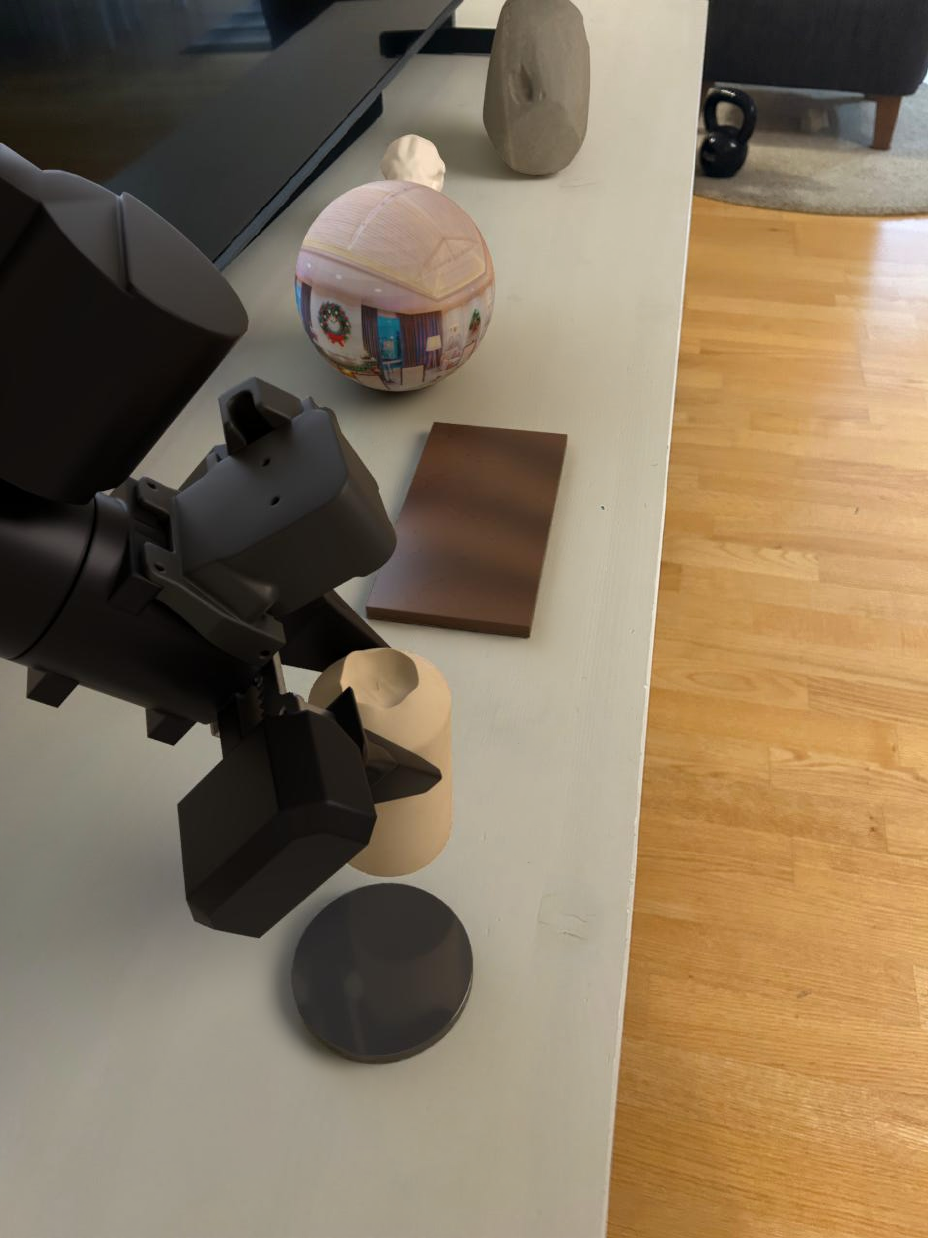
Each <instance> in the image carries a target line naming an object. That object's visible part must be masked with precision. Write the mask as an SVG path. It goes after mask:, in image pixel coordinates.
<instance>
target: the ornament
mask: <svg viewBox="0 0 928 1238" xmlns="http://www.w3.org/2000/svg"><path fill="white" fill-rule="evenodd" d="M294 289H295V290H294V291H295V293H294V294H295V301H296V306H297V311H298V315H299V317H300V321H301V323H302V326H303V328H304V330H305V333H306V335H307V336H308V338H309V340H310V341H311V344H312V346H314V348H315V349H316V350H317V352H318V353H319V354H320V356H321V357H322V358H323V359H324V361H326V362H327V363H328V364H329V365H330V366H331V367H332V368H333V369H335V370H336V371H337V372H339V373H340V374H341V375H343V376H345V377H346V378H347V379H349V380H351V381H354V382H355V383H358V384H360V385H362V386H364V387H368V388H372V389H376V390H381V391H387V392H406V391H407V392H408V391H409V392H410V391H414V390H419V389H423V388H426V387H429V386H433V385H435V384H437V383H439V382H441V381H443V380H444V379H446V378H448V377H449V376H451V375H453V374H455V372H457V371H458V370H459V369H460V368H462V367H463V365H465V363H467V362H468V360H469V359H470V358H471V357H472V356H473V355H474V353H475V352H476V351H477V349H478V348H479V346H480V345H481V342H482V341H483V339H484V337H485V335H486V333H487V330H488V328H489V325H490V323H491V321H492V316H493V312H494V309H495V300H496V299H495V298H496V277H495V270H494V264H493V259H492V256H491V253H490V250H489V247H488V245H487V242H486V240H485V238H484V236H483V235H482V233H481V231H480V229H479V228H478V225H476V223H475V222H474V221H473V219H472V217H470V215H469V214H468V213H467V212H466V211H465V210H464V209H463V208H462V207H461V206H460V205H459V204H457V202H455V201H454V200H453V199H451V198H450V197H448V196H447V195H446V194H444V193H443V192H441V191H440V192H438V191H436V190H434V189H432V188H430V187H428V186H425V185H422V184H418V183H414V182H410V181H403V180H386V179H384V180H376V181H371V182H368V183H365V184H362V185H359V186H357V187H354V188H351V189H349V190H347V191H346V192H344V193H343V194H341V195H339V196H338V197H337V198H335V199H334V200H332V201H331V202H330V203H329V204H328V205H327V206H325V208H324V209H322V210H321V212H320V213H319V214H318V216H317V217H316V219H314V221H313V222H312V224H311V225H310V227H309V229H308V230H307V232H306V234H305V236H304V239H303V241H302V243H301V246H300V249H299V251H298V256H297V261H296V267H295V273H294Z"/></svg>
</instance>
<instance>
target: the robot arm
mask: <svg viewBox="0 0 928 1238" xmlns="http://www.w3.org/2000/svg"><path fill="white" fill-rule="evenodd" d="M249 321H250V320H249V316H248V313H247V310H246V308H245V306H244V304H243V302H242V300H241V298H240V297H239V295H238V294H237V292H236V291H235V289H234V288H233V287H232V285H231V284H230V282H229V281H228V279H227V278H226V277H225V276H224V275H223V274H222V272H221V271H220V270H219V269H218V268H217V267H216V266H215V264H214V262H212V261H211V260H210V259H209V258H208V257H207V256H206V255H205V254H204V253H203V252H202V251H201V250H200V249H199V248H198V247H197V246H196V245H195V244H194V243H193V242H192V241H191V240H189V239H188V238H187V237H186V236H185V235H184V234H183V233H182V232H180V231H179V230H178V228H176V227H175V226H173V224H171V222H168V221H167V220H166V219H165V218H164V217H162V216H161V215H159V214H158V213H157V212H156V211H154V210H153V209H152V208H150V207H149V206H148V205H146V204H145V203H144V202H142V201H141V200H139V199H138V198H137V197H135V196H134V195H132V194H130V193H128V192H127V191H123V192H122V193H121V195H117V194H116V193H115V192H112V191H110V190H109V189H107V188H105V187H104V186H103V185H100V184H98V183H96V182H94V181H92V180H89V179H87V178H85V177H84V176H80V175H78V174H74V173H71V172H68V171H65V170H61V169H44V170H42V169H40V168H39V167H38V166H36V165H35V164H33V163H32V162H30V161H29V160H27V159H26V158H25V157H23V156H21V155H20V154H18V152H16V151H14V150H12V148H10V147H9V146H7V145H6V144H4V143H2V142H0V659H4V660H5V661H9V662H12V663H14V664H17V665H21V666H23V667H26V669H27V670H26V672H27V673H26V695H25V698H26V699H27V700H31V701H34V702H38V703H40V704H43V705H47V706H49V707H52V708H55V709H59V707H60V706H62V704H63V703H64V702H65V701H66V699H67V698H68V697H69V696H70V695H71V694H72V692H74V690H75V689H77V687H78V686H81V687H84V688H87V689H90V690H92V691H95V692H98V693H101V694H104V695H107V696H110V697H113V698H116V699H118V700H121V701H124V702H127V703H130V704H132V705H135V706H138V707H141V708H144V709H145V726H146V738H147V739H150V740H153V741H157V742H159V743H163V744H166V745H169V746H172V747H175V746H176V744H178V743H179V742H180V741H181V740H182V739H183V738H184V736H186V734H187V733H188V732H190V730H191V729H192V728H193V727H194V726H195V725H196V724H198V723H199V724H202V725H204V726H207V725H209V727H210V734H211V736H212V737H215V738H218V739H219V741H220V749H221V755H222V756H221V757H222V759H221V760H220V761H219V762H218V763H217V764H216V765H215V766H214V767H213V768H212V769H211V770H210V771H209V772H207V774H206V775H204V777H203V778H202V779H201V780H200V781H198V783H197V784H196V785H194V786H193V788H192V789H190V791H188V793H187V794H186V795H185V796H184V797H182V798H181V800H179V801H178V803H176V805H177V806H176V808H177V818H178V829H179V831H178V832H179V841H180V851H181V852H180V853H181V864H182V875H183V885H184V897H185V901H186V904H187V906H188V909H189V911H190V914H191V916H192V919H193V921H194V923H197V924H199V925H202V926H204V927H207V928H209V929H210V930H211V929H212V930H213V931H218V932H222V933H223V932H224V933H228V934H233V935H238V936H242V937H243V936H245V937H248V938H253V939H261V938H262V937H263V936H264V935H266V933H268V932H269V931H270V930H271V929H273V928H274V927H275V926H276V925H277V924H279V922H280V921H282V920H283V919H284V918H285V917H286V916H288V914H290V913H291V912H292V911H294V910H295V909H296V908H297V907H298V906H299V905H301V903H302V902H304V901H305V900H306V899H307V898H308V897H310V895H312V894H313V893H314V892H315V891H316V890H318V889H319V888H320V887H321V886H323V885H324V884H325V883H326V882H327V881H328V880H329V879H330V878H332V877H333V876H334V875H335V874H337V872H339V871H340V870H342V868H343V867H344V866H346V865H347V864H348V862H349V861H350V860H351V859H352V858H354V857H355V856H356V855H357V854H358V853H359V852H361V851H362V850H363V849H364V848H365V847H366V846H368V845H369V842H370V839H371V836H372V832H373V829H374V826H375V823H376V820H377V814H376V810H375V806H374V804H379V803H383V802H388V801H392V800H397V799H401V798H406V797H410V796H415V795H419V794H424V793H426V792H428V791H429V790H430V789H432V788H433V787H434V786H435V785H436V784H437V783H439V782H440V781H441V780H442V774H441V771H440V769H439V768H437V767H436V766H434V765H433V764H431V763H430V762H428V761H427V760H425V759H424V758H422V757H420V756H419V755H417V754H415V753H413V752H411V751H409V750H407V749H405V748H403V747H401V746H399V745H397V744H395V743H393V742H391V741H389V740H387V739H385V738H383V737H381V736H379V735H377V734H375V733H373V732H371V731H369V730H367V729H365V728H364V727H363V725H362V721H361V717H360V713H359V710H358V706H357V702H356V698H355V695H354V691H353V689H352V688H351V687H350V686H349V687H347V688H346V689H345V690H344V691H343V692H342V693H341V694H340V695H339V696H338V697H337V698H336V699H335V700H334V701H333V702H332V703H331V704H330V705H329V706H328V707H327V708H326V709H322V708H320V707H317V706H315V705H312V704H310V703H308V701H306V700H305V698H304V697H303V696H301V695H300V694H298V693H295V692H291V691H287V686H286V681H285V676H284V672H283V666H287V667H291V668H297V669H302V670H307V671H311V672H312V671H313V672H318V673H322V672H323V671H324V670H326V669H327V668H328V667H329V666H330V665H332V664H333V663H335V662H336V661H338V660H340V659H342V658H343V657H345V656H347V655H349V654H350V653H351V652H354V651H362V650H367V649H374V648H392V647H391V645H390V644H388V642H386V641H385V640H384V639H383V638H382V636H380V635H379V634H378V633H377V632H376V631H375V630H374V629H373V628H372V626H370V625H369V624H368V623H367V622H366V620H364V619H363V618H362V617H361V615H360V614H358V613H357V611H356V610H354V609H353V608H352V607H351V606H350V605H349V603H347V602H346V600H344V599H343V598H342V597H341V596H340V595H339V593H338V592H337V591H336V588H338V587H340V586H342V585H343V584H345V583H347V582H349V581H351V580H353V579H354V578H365V577H368V576H370V575H371V574H373V573H375V572H377V571H379V569H380V568H381V567H382V566H383V565H384V564H386V563H387V562H388V560H389V559H390V558H391V556H392V555H393V553H394V551H395V549H396V545H397V537H396V533H395V530H394V528H395V527H394V526H393V524H392V522H391V521H390V518H389V515H388V512H387V510H386V507H385V504H384V501H383V498H382V496H381V494H380V487H379V484H378V482H377V480H376V478H375V477H374V475H373V474H372V472H371V471H370V470H369V468H368V467H367V466H366V464H365V463H364V461H363V459H361V458H360V455H359V454H358V453H357V451H356V450H355V449H354V447H353V446H352V444H351V443H350V441H349V440H348V439H347V438H346V436H345V435H344V433H343V432H342V429H341V426H340V423H339V420H338V417H337V415H336V412H335V410H333V409H332V408H330V407H327V406H319V405H318V404H317V403H316V401H315V400H314V399H313V397H312V396H311V395H308V396H306V397H305V398H303V399H300V398H299V397H297V396H295V395H294V394H292V393H290V392H288V391H286V390H284V389H283V388H280V387H277V386H276V385H274V384H271V383H270V382H267V381H265V380H264V379H262V378H259V377H258V376H250V377H248V378H247V379H244V380H243V381H241V382H240V383H238V384H236V385H234V386H233V387H231V388H230V389H228V390H226V391H225V392H223V393H221V394H220V395H219V397H218V398H217V400H218V407H219V413H220V419H221V425H222V430H223V436H224V442H225V443H222V444H215V445H213V446H212V447H211V449H210V450H209V451H208V453H207V454H206V455H205V456H204V458H202V459H201V461H200V462H199V463H198V465H197V466H196V467H195V468H194V469H193V471H192V472H191V473H190V474H189V476H188V477H186V479H185V480H184V482H183V483H182V484H180V486H179V487H178V489H175V488H172V487H169V486H167V485H165V484H162V483H161V482H159V481H157V480H155V479H154V478H151V477H148V476H145V475H144V476H143V475H142V476H141V477H139V479H136V478H133V477H131V475H132V474H133V473H134V471H135V470H136V469H137V468H138V467H139V466H140V464H141V463H142V462H143V461H144V459H145V458H146V457H147V455H148V454H149V453H150V452H151V450H152V449H153V448H154V447H155V445H156V444H157V443H158V442H159V441H160V440H161V438H162V437H163V436H164V434H165V433H166V432H167V431H168V429H170V427H171V426H172V424H173V423H174V422H175V421H176V420H177V418H178V417H179V416H180V415H181V413H183V411H184V410H185V409H186V407H187V406H188V404H189V403H190V402H191V401H192V400H193V399H194V397H195V396H196V394H197V393H198V392H200V390H201V388H202V387H203V386H204V385H205V383H207V381H208V380H209V379H210V378H211V376H212V375H213V374H214V372H215V371H216V370H217V369H218V368H219V366H220V365H221V364H222V363H223V361H224V360H225V359H226V358H227V356H228V355H229V354H230V352H232V351H233V349H234V348H235V347H236V345H237V344H238V343H239V341H240V340H242V338H243V336H244V335H245V334H247V333H246V332H247V331H248V328H249ZM111 490H112V491H111ZM107 491H111V492H110V493H109V494H106V493H104V492H107Z"/></svg>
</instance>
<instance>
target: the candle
mask: <svg viewBox="0 0 928 1238" xmlns="http://www.w3.org/2000/svg"><path fill="white" fill-rule="evenodd" d="M349 686H350V687H351V688H352V689H353V691H354V695H355V698H356V702H357V706H358V710H359V713H360V717H361V721H362V725H363V727H364V728H365V729H367V730H369V731H371V732H373V733H375V734H377V735H379V736H381V737H383V738H385V739H387V740H389V741H391V742H393V743H395V744H397V745H399V746H401V747H403V748H405V749H407V750H409V751H411V752H413V753H415V754H417V755H419V756H420V757H422V758H424V759H425V760H427V761H428V762H430V763H431V764H433V765H434V766H436V767H437V768H439V769H440V771H441V774H442V780H441V781H440V782H439V783H437V784H436V785H435V786H434V787H433V788H432V789H430V790H429V791H428V792H426V793H424V794H419V795H415V796H410V797H406V798H401V799H397V800H392V801H388V802H383V803H379V804H374V806H375V810H376V814H377V820H376V823H375V826H374V829H373V832H372V836H371V839H370V842H369V845H368V846H366V847H365V848H364V849H363V850H362V851H361V852H359V853H358V854H357V855H356V856H355V857H354V858H352V859H351V860H350V861H349V862H348V863H347V864H348V865H349V866H350V867H352V868H353V869H355V870H357V871H358V872H361V873H364V874H366V875H370V876H374V877H379V878H396V877H402V876H406V875H407V876H408V875H410V874H412V873H415V872H418V871H420V870H422V869H423V868H426V867H427V866H428V865H430V864H431V863H433V862H434V860H436V859H437V858H438V857H439V856H440V855H441V853H442V852H443V851H444V849H445V847H446V846H447V843H448V841H449V839H450V836H451V833H452V828H453V820H454V819H453V817H454V815H453V814H454V800H453V748H452V747H453V746H452V745H453V743H452V736H453V735H452V695H451V689H450V687H449V683H448V681H447V680H446V678H445V676H444V675H443V673H442V671H440V669H438V668H437V666H435V664H433V663H431V662H430V661H429V660H428V659H426V658H424V657H422V656H421V655H418V654H416V653H413V652H411V651H406V650H403V649H399V648H393V647H391V648H374V649H367V650H362V651H354V652H351V653H350V654H349V655H347V656H345V657H343V658H342V659H340V660H338V661H336V662H335V663H333V664H332V665H330V666H329V667H328V668H327V669H326V670H324V671H323V672H321V674H320V675H319V676H317V679H316V680H315V681H314V683H313V684H312V687H311V688H310V691H309V695H308V698H307V703H310V704H312V705H315V706H317V707H320V708H322V709H326V708H327V707H328V706H329V705H330V704H331V703H332V702H333V701H334V700H335V699H336V698H337V697H338V696H339V695H340V694H341V693H342V692H343V691H344V690H345V689H346V688H347V687H349Z"/></svg>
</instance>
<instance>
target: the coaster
mask: <svg viewBox="0 0 928 1238" xmlns="http://www.w3.org/2000/svg"><path fill="white" fill-rule="evenodd" d="M291 964H292V965H291V971H290V973H291V975H290V976H291V980H290V981H291V988H292V995H293V998H294V1001H295V1004H296V1005H295V1006H296V1008H297V1011H298V1013H299V1015H300V1018H301V1019H302V1021H303V1022H302V1023H304V1025H305V1027H306V1028H307V1030H308V1031H309V1033H311V1035H312V1036H313V1037H314V1038H315V1039H316V1040H317V1042H319V1043H320V1044H322V1045H323V1046H324V1047H325V1048H327V1049H328V1050H329V1051H331V1052H333V1053H335V1054H336V1055H339V1056H340V1057H343V1058H345V1059H348V1060H351V1061H356V1062H359V1063H364V1064H365V1063H367V1064H389V1063H396V1062H400V1061H404V1060H407V1059H410V1058H413V1057H415V1056H418V1055H419V1054H422V1053H423V1052H425V1051H427V1050H428V1049H430V1048H432V1047H433V1046H435V1045H436V1044H438V1043H439V1042H440V1041H441V1040H442V1039H443V1038H445V1036H446V1035H448V1033H449V1032H450V1031H451V1030H452V1029H453V1028H454V1027H455V1025H456V1024H457V1022H458V1021H459V1020H460V1018H461V1016H462V1014H463V1013H464V1011H465V1009H466V1007H467V1004H468V1001H469V999H470V995H471V993H472V988H473V980H474V956H473V948H472V944H471V941H470V938H469V935H468V932H467V931H466V928H465V926H464V924H463V922H462V921H461V919H460V918H459V917H458V915H457V914H456V912H454V911H453V908H451V907H450V906H449V905H447V903H445V902H444V901H443V900H442V899H440V898H438V897H437V896H436V895H435V894H432V893H430V892H429V891H427V890H425V889H422V888H419V887H417V886H414V885H409V884H405V883H398V882H377V883H370V884H366V885H362V886H358V887H356V888H353V889H351V890H348V891H346V892H344V893H342V894H340V895H338V896H337V897H335V898H334V899H333V900H331V901H329V902H328V903H326V905H324V906H323V907H322V908H320V910H319V911H318V912H317V913H316V914H315V915H314V916H313V917H312V918H311V920H310V921H309V923H307V925H306V927H305V928H304V930H303V932H302V933H301V936H300V937H299V939H298V942H297V944H296V947H295V950H294V954H293V957H292V963H291Z"/></svg>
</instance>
